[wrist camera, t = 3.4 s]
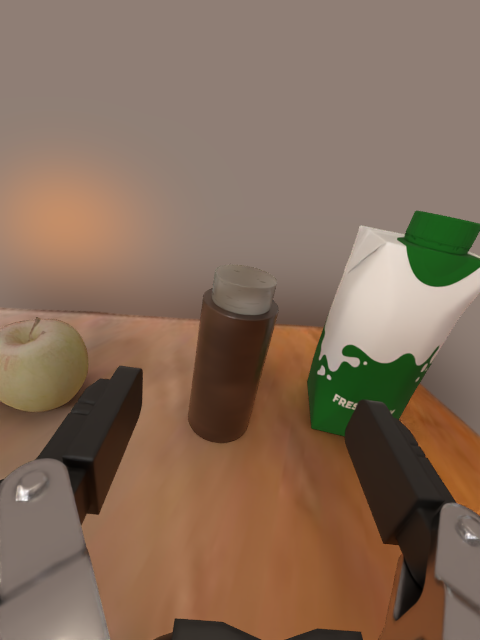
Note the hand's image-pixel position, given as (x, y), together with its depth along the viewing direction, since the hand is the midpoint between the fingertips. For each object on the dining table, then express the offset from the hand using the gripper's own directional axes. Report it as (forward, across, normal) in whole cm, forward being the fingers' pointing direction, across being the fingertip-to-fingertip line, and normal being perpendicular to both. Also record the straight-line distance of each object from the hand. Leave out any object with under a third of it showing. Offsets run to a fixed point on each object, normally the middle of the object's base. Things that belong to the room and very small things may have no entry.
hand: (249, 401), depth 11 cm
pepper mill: (+11, 0, +13) cm, 17 cm away
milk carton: (+14, -13, +13) cm, 23 cm away
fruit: (+11, +16, +13) cm, 23 cm away
